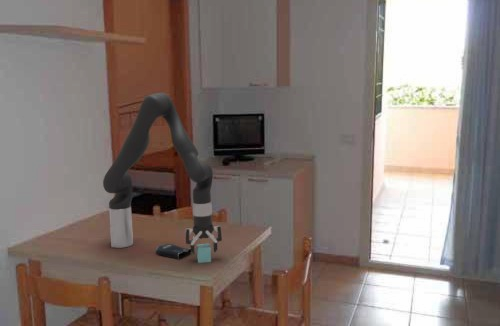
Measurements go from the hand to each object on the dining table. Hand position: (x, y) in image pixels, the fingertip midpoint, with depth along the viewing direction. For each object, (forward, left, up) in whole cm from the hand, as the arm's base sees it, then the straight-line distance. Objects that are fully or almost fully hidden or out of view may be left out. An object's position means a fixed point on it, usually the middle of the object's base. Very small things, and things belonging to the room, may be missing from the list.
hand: (204, 252), depth 199 cm
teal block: (0, 0, -3) cm, 3 cm away
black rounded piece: (-12, +11, -4) cm, 17 cm away
